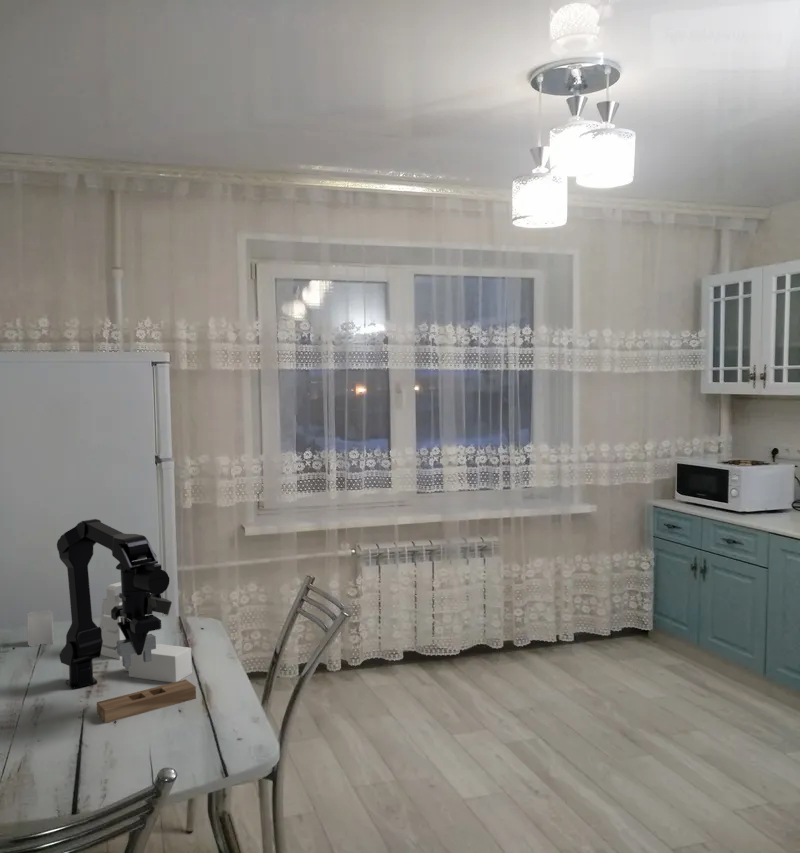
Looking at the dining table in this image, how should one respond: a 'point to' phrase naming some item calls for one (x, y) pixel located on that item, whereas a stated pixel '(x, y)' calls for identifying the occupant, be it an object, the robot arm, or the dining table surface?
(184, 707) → the dining table surface
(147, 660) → the grey block
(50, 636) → the pale grey block
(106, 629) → the grater
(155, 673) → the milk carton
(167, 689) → the rail
